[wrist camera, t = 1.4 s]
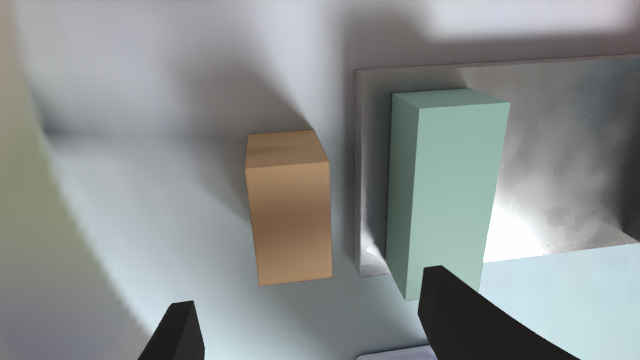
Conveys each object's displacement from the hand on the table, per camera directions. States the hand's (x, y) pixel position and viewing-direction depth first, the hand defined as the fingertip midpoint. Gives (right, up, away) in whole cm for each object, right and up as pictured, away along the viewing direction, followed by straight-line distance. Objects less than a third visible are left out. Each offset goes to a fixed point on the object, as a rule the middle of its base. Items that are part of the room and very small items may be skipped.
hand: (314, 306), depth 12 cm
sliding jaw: (+6, +4, +9) cm, 11 cm away
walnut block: (-2, +4, +10) cm, 10 cm away
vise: (+12, +5, +11) cm, 17 cm away
